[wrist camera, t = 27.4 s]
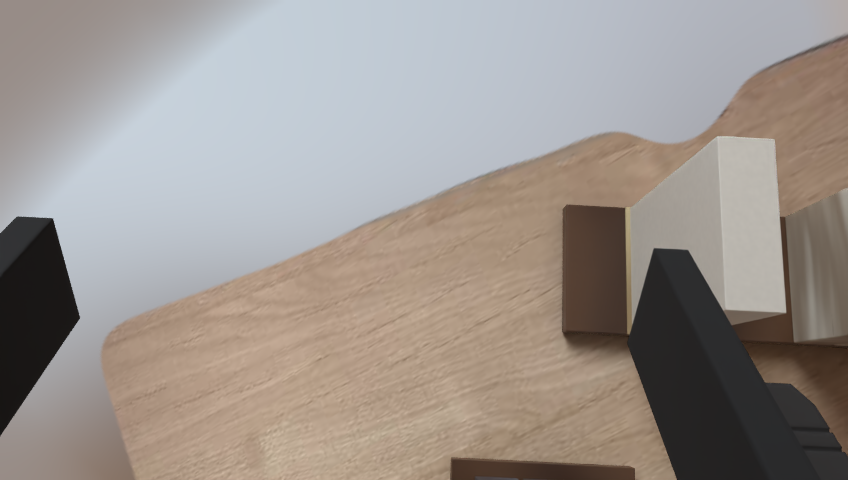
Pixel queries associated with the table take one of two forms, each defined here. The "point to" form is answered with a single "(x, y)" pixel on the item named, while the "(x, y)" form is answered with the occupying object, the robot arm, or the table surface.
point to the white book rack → (801, 325)
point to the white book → (719, 226)
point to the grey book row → (534, 470)
